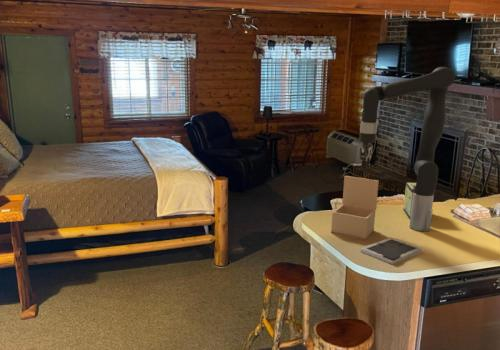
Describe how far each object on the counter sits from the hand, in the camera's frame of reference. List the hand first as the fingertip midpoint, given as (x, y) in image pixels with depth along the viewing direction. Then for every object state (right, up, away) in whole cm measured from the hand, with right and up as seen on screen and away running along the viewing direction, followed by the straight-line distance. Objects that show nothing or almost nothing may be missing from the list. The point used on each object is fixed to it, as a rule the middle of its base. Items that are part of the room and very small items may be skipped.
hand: (365, 167), depth 226 cm
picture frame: (+4, -36, -27) cm, 45 cm away
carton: (-7, -30, -5) cm, 31 cm away
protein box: (+32, -25, +21) cm, 46 cm away
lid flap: (-3, -12, -3) cm, 13 cm away
